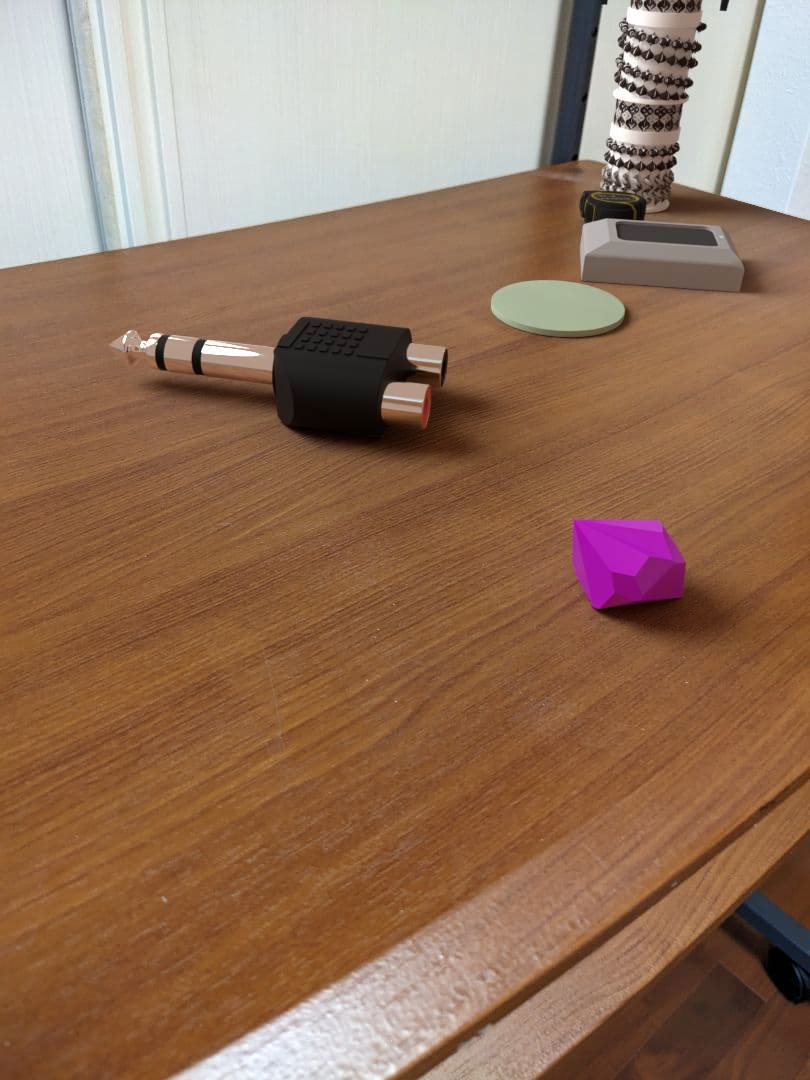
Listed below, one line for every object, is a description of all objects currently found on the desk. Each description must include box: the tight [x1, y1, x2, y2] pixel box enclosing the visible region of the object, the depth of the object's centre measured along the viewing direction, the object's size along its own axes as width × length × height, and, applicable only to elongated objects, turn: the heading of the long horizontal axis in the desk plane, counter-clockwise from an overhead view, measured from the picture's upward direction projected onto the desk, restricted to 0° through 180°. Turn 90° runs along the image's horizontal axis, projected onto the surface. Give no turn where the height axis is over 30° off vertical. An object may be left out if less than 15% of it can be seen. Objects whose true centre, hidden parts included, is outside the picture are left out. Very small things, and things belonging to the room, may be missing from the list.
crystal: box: [571, 518, 687, 610], centre depth 49 cm, size 5×5×5 cm
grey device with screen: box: [579, 218, 745, 293], centre depth 92 cm, size 10×4×15 cm
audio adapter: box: [107, 316, 449, 438], centre depth 67 cm, size 11×5×25 cm
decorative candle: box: [599, 0, 708, 214], centre depth 104 cm, size 9×9×25 cm
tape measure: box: [578, 190, 647, 224], centre depth 102 cm, size 7×7×4 cm
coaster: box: [490, 279, 626, 338], centre depth 83 cm, size 12×12×1 cm
